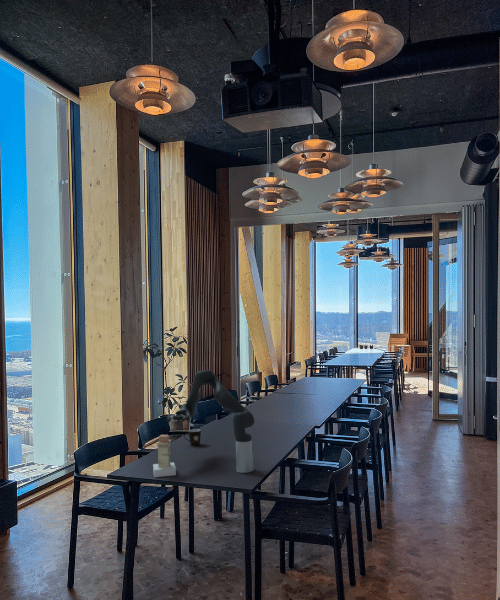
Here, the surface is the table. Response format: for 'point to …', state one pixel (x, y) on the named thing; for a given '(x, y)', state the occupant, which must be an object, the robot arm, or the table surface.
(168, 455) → the beige rectangular pillar
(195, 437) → the coffee mug
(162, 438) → the block
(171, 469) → the block
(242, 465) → the robot arm
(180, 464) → the table surface
